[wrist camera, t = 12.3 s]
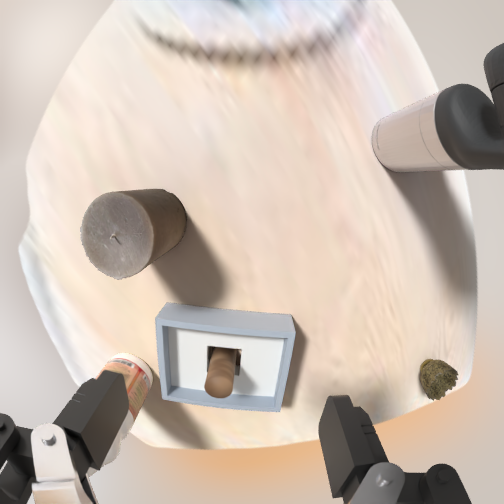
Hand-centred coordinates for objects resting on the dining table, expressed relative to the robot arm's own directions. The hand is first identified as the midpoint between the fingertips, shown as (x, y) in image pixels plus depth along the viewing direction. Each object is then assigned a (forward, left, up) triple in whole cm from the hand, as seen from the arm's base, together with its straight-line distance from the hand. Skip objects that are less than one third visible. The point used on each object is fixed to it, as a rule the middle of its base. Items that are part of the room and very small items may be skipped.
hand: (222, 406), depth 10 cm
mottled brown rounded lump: (-39, +22, -33) cm, 56 cm away
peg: (+2, +19, -33) cm, 38 cm away
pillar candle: (+14, -2, -33) cm, 36 cm away
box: (+2, +19, -33) cm, 38 cm away
